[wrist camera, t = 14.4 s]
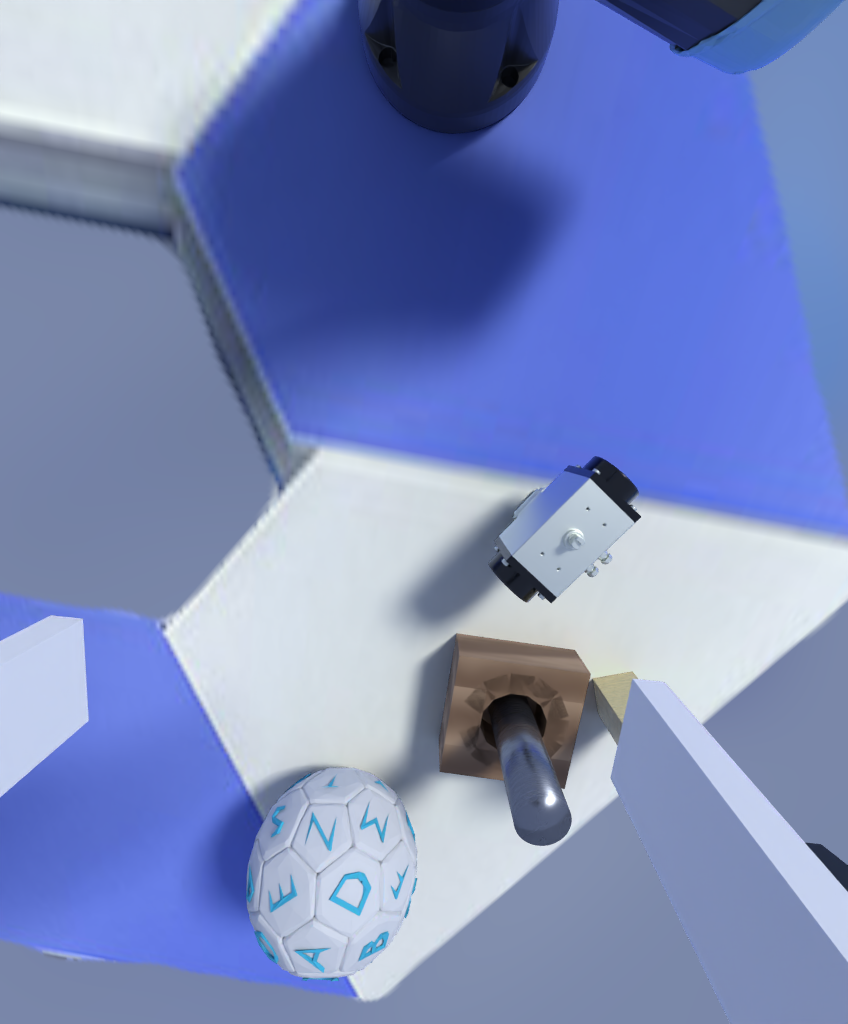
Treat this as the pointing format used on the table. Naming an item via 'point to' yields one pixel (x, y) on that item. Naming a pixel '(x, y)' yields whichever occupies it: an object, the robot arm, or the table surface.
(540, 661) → the bore block
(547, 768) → the cylinder
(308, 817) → the puzzle ball
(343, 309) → the table surface
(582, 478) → the pneumatic valve
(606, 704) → the square bit
